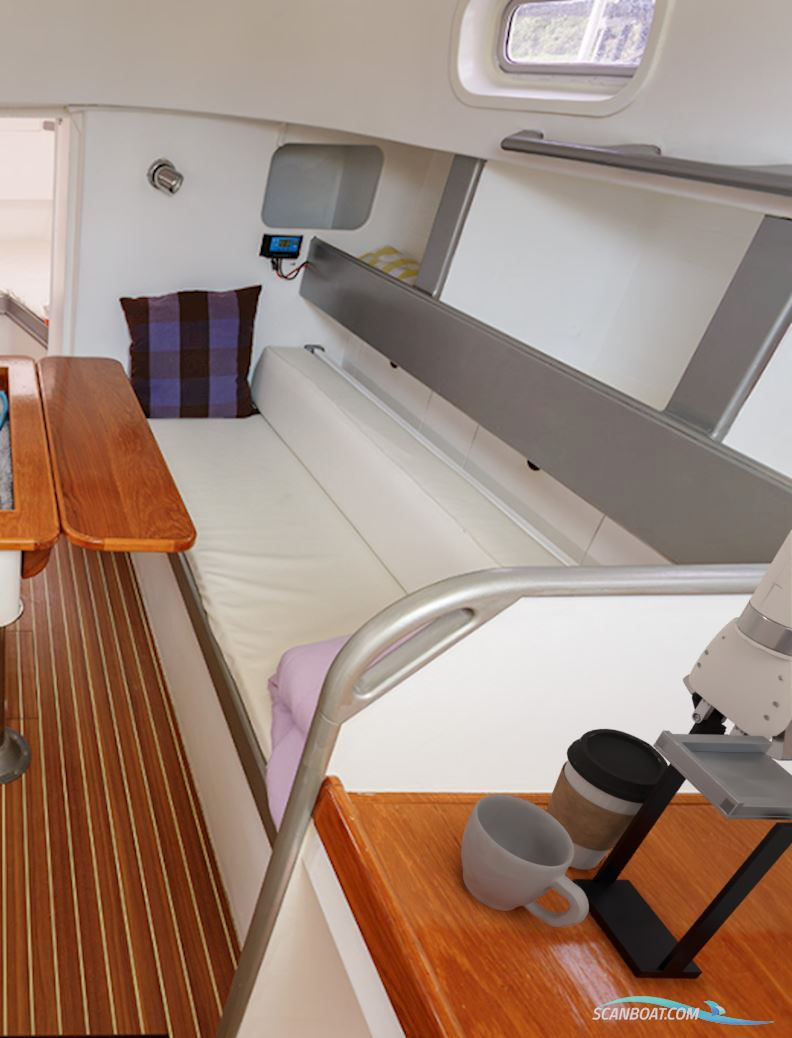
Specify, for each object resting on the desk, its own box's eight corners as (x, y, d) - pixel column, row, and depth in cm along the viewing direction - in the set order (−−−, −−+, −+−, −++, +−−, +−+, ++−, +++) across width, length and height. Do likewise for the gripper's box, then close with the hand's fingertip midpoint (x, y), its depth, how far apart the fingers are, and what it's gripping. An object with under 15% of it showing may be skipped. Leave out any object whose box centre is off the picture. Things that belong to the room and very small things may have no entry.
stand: (623, 886, 79) (728, 739, 68) (697, 979, 71) (829, 828, 60) (569, 885, 79) (665, 737, 68) (636, 978, 71) (757, 826, 60)
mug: (426, 866, 81) (455, 807, 76) (482, 841, 84) (513, 783, 79) (528, 970, 71) (569, 910, 66) (588, 938, 74) (630, 878, 69)
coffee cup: (629, 866, 81) (694, 772, 74) (578, 890, 79) (641, 795, 71) (556, 807, 88) (609, 715, 81) (507, 828, 85) (558, 735, 78)
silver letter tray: (754, 748, 68) (765, 732, 67) (839, 821, 61) (853, 805, 60) (652, 745, 68) (662, 730, 67) (726, 818, 61) (738, 802, 60)
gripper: (911, 684, 67) (805, 820, 76) (755, 587, 81) (681, 712, 90) (830, 683, 67) (734, 820, 76) (688, 586, 81) (620, 711, 90)
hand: (706, 760), depth 83 cm, fingers closed
